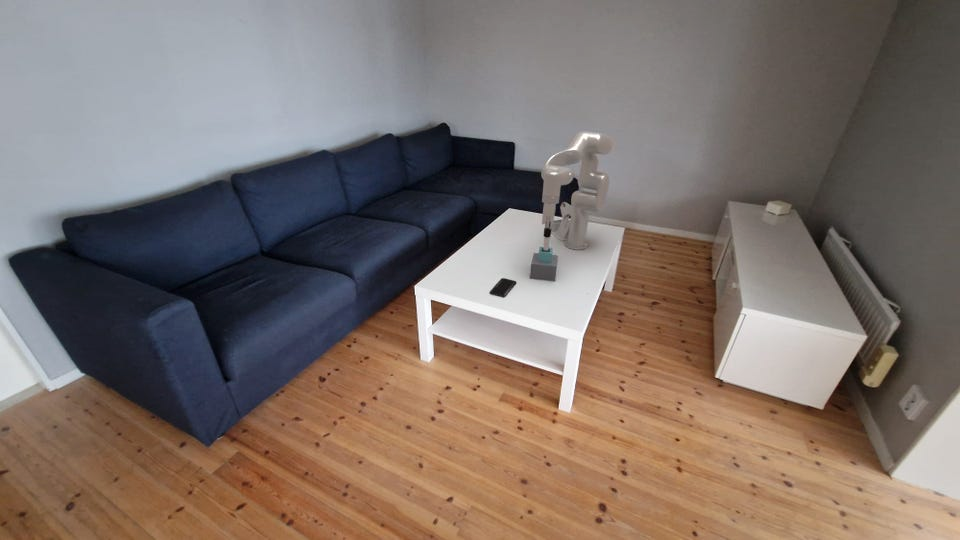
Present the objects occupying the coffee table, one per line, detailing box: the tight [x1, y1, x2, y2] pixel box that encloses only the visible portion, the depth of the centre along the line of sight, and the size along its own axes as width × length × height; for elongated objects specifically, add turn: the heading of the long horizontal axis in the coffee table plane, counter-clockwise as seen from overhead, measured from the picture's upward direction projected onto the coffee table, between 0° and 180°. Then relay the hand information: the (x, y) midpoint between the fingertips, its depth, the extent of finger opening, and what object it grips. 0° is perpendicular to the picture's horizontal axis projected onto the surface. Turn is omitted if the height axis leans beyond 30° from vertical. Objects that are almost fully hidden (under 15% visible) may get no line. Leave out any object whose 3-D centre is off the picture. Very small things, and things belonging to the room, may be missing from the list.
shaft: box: [543, 236, 551, 252], centre depth 187 cm, size 2×2×14 cm
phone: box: [489, 277, 517, 298], centre depth 181 cm, size 8×1×15 cm
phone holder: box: [551, 201, 572, 242], centre depth 232 cm, size 17×10×18 cm, turn 18°
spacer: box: [537, 246, 554, 263], centre depth 188 cm, size 6×6×5 cm
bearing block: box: [529, 252, 559, 282], centre depth 191 cm, size 12×12×8 cm
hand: (547, 236), depth 184 cm, fingers closed
